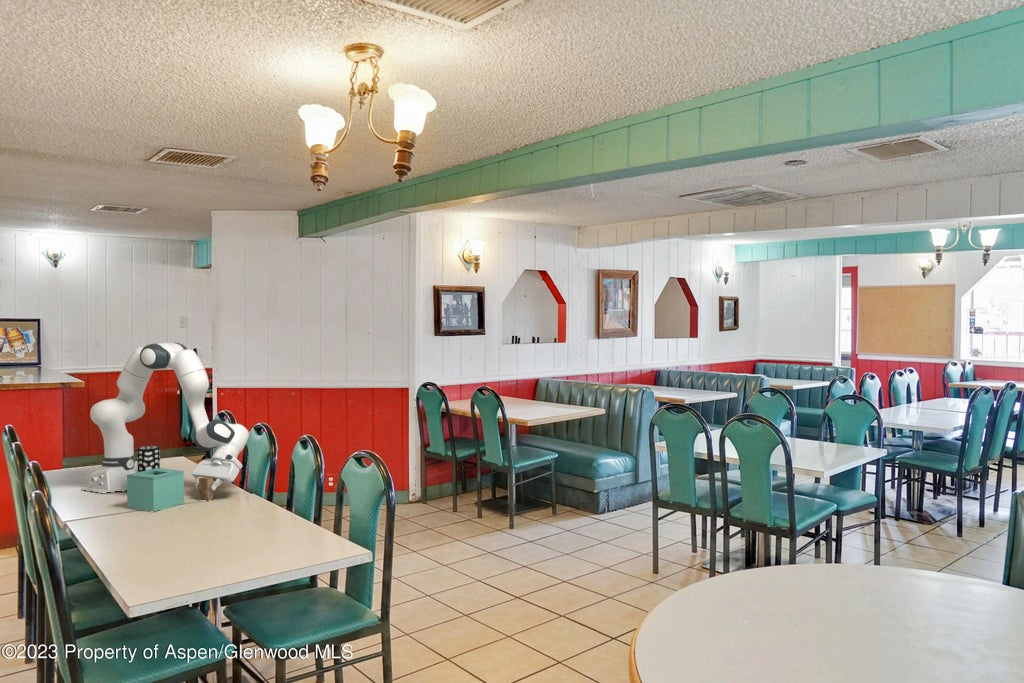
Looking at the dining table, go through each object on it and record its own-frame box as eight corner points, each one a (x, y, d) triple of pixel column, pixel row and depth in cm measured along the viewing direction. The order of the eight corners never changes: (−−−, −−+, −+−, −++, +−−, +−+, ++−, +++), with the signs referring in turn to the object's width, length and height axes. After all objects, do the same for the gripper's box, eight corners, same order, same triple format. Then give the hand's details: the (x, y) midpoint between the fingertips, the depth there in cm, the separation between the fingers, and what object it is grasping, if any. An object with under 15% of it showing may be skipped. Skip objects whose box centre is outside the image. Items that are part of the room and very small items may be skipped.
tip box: (127, 508, 280) (126, 474, 280) (158, 500, 293) (157, 468, 292) (153, 512, 274) (153, 477, 274) (184, 503, 287) (183, 470, 287)
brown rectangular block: (198, 500, 293) (198, 477, 293) (203, 498, 295) (203, 476, 295) (208, 501, 291) (207, 479, 291) (213, 500, 293) (212, 477, 293)
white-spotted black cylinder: (165, 494, 302) (164, 446, 302) (149, 499, 295) (148, 449, 294) (149, 493, 305) (148, 445, 305) (133, 497, 297) (132, 448, 297)
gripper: (199, 453, 303) (180, 481, 294) (237, 457, 295) (219, 486, 286) (208, 462, 307) (189, 490, 299) (245, 466, 299) (227, 495, 290)
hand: (204, 488), depth 292 cm, fingers open, 6 cm apart
